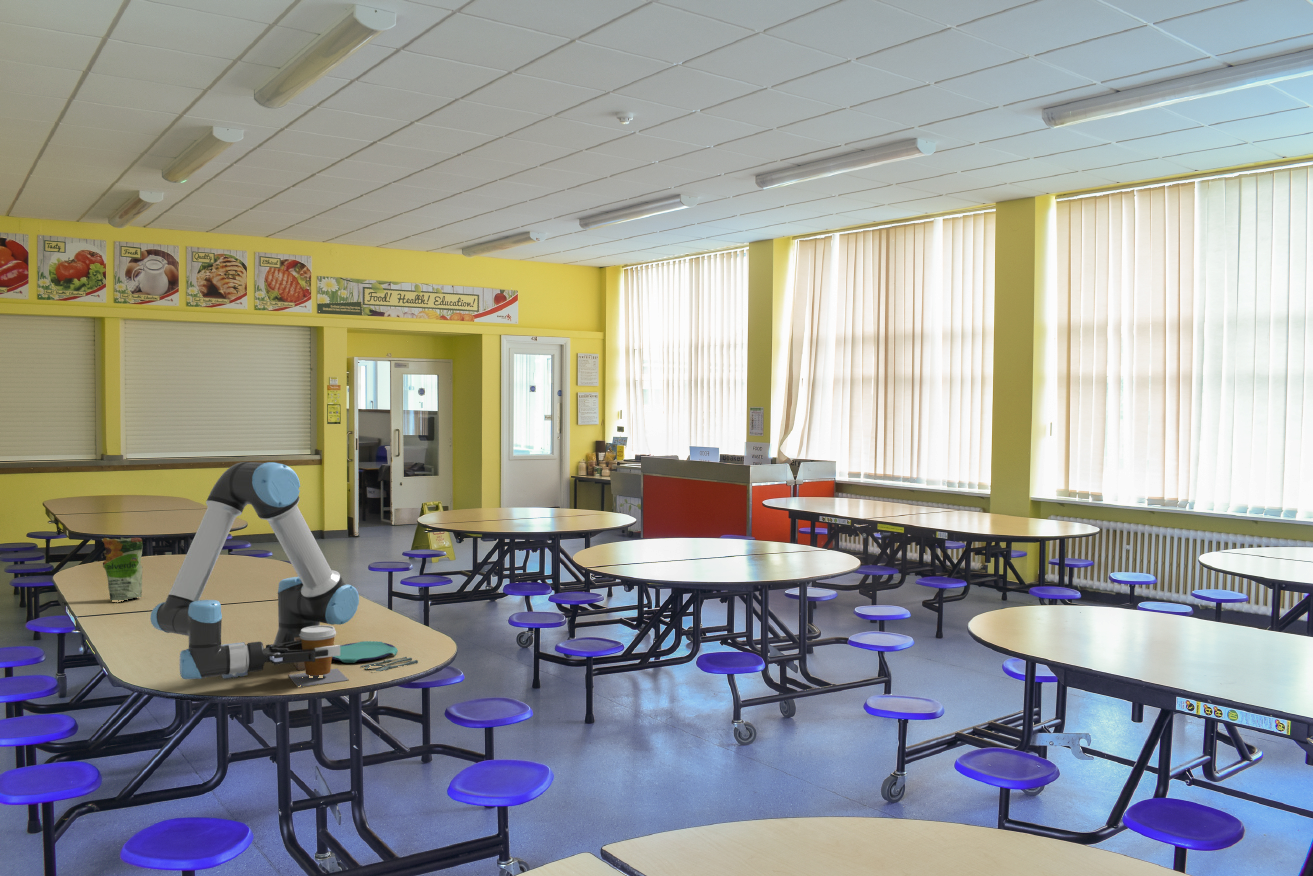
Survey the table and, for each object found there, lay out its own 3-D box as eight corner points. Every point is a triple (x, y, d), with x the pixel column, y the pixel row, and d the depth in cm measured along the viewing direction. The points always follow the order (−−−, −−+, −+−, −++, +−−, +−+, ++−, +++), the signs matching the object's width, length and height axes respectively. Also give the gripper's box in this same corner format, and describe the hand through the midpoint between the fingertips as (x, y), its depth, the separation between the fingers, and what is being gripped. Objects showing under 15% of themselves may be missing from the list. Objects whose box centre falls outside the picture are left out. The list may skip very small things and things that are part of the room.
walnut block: (294, 665, 261) (294, 637, 261) (316, 662, 264) (316, 635, 264) (298, 670, 256) (298, 642, 256) (320, 667, 259) (320, 639, 259)
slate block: (220, 673, 253) (220, 644, 253) (244, 670, 256) (244, 642, 256) (223, 678, 248) (223, 649, 248) (247, 675, 251) (247, 646, 251)
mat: (288, 676, 250) (288, 675, 250) (337, 669, 257) (337, 668, 257) (297, 687, 239) (297, 687, 239) (348, 680, 246) (348, 679, 246)
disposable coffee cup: (341, 668, 253) (341, 625, 253) (329, 677, 244) (329, 632, 244) (306, 668, 253) (306, 625, 253) (293, 677, 243) (293, 633, 243)
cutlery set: (376, 644, 287) (376, 637, 287) (425, 664, 265) (425, 657, 265) (314, 656, 273) (314, 648, 273) (360, 678, 251) (360, 670, 251)
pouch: (147, 599, 355) (146, 535, 354) (115, 605, 345) (114, 539, 344) (131, 596, 361) (131, 533, 360) (99, 601, 351) (99, 537, 350)
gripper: (240, 663, 248) (327, 652, 260) (252, 681, 230) (345, 669, 242) (240, 635, 247) (327, 625, 260) (252, 652, 230) (345, 641, 242)
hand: (336, 646), depth 251 cm, fingers closed on disposable coffee cup, 8 cm apart
